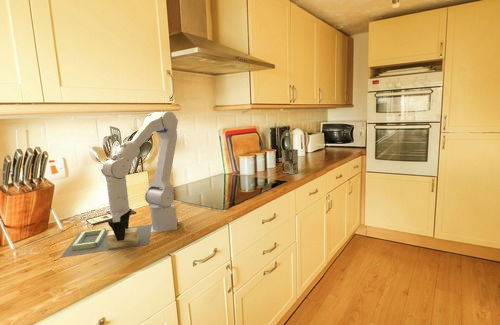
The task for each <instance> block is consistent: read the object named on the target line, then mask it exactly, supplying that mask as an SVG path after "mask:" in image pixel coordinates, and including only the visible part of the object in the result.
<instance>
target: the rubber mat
mask: <svg viewBox="0 0 500 325" xmlns="http://www.w3.org/2000/svg"><path fill="white" fill-rule="evenodd" d="M136 227H138V236H139V241H138V245H131V246H123V247H116V248H109V249H108V242H107V234H108V232H109V231H113V230H112V229H106V234H105V235H104V237H103V239H102V241H101V242H100V244H99V246H98V247H93V248H86V249H79V250H72V245H73V244H74V242H75V241H76V240H77V239H78V237H79V236H80V235H81V233H78V234H77V235H76V236H75V238H74V239H73V241H72V242H71V243H70V245H69V246H68V247H67V248H66V250H64V252H63V253H62V254H61V256H60V257H59V258H68V257H73V256H79V255H80V256H81V255H87V254H95V253H101V252H102V253H103V252H108V251H116V250H121V249H122V250H123V249H128V248H129V249H130V248H135V247H136V248H137V247H144V246H149V243H150V238H151V234H152V233H151V228H152V224H145V225H144V224H143V225H137V226H128V228H136ZM98 236H99V234H97V235H89V236H85V238H84V239H83V241H82V242H81V243H80V244H82V243H89V242H95V241H96V239H97V237H98Z"/></svg>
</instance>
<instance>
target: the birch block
mask: <svg viewBox="0 0 500 325" xmlns="http://www.w3.org/2000/svg"><path fill="white" fill-rule="evenodd" d="M135 227H136V226H135ZM138 241H139V236H138V227H136V228H128V229H125V239H124V240H121V241H117V239H116V237H115V234H114V232H113V231H109V232H108V234H107V242H108V249H109V248H116V247H123V246H131V245H138Z"/></svg>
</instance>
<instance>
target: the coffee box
mask: <svg viewBox="0 0 500 325" xmlns="http://www.w3.org/2000/svg"><path fill="white" fill-rule="evenodd" d="M298 153H299V152H298V149H293V148H285V149H282V150H281V162H282V163H281V165H282V166H281V168H282V169H281V170H282V174H286V173H289V174H288V175H296V174H298V173H299V160H298V159H299V158H298V156H299V155H298ZM295 173H296V174H295Z"/></svg>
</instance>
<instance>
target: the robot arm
mask: <svg viewBox="0 0 500 325" xmlns="http://www.w3.org/2000/svg"><path fill="white" fill-rule="evenodd" d="M178 122H179V119H178V118H177V116H176V114H174V112H172V111H169V110H167V111H161V112H160V111H158V112H155V111H152V112H150V113H148V115H147V116H146V117H145V118H144V122H143V124H141V126H140V128H139V129H138V130H137V132H136V133H135V135H134V136H133V137H132V139H131V140H130V141H128V140H127V141H125V142H122V143H121V144H120V145H119V146H120V148H119V149H118V150H117V151H116V152H115V153H114V154H112V155H111V158H109V159H108V160H106V161H105V162H103V165H102V168H101V169H100V171H101V174H102V175H103V176H104V177H105V181H106V187H107V196H108V204H109V205H108V206H109V209H106V211H105V212H106V213H105V214H108V213H110V214H111V215H112V220H109V221H108V222H107V224H108V226H109V227H110V228H111V230H113V232H114V234H115V237H116V239H117V241H121V240H124V239H125V229H128V227H130V226H129V224H130V217H131V215H130V213H131V211H132V210H133V209H132V208H130V204H129V203H130V202H129V195H128V187H127V177H126V176H127V175H128V174H129V171H130V166H131V164H132V163H133V162H134V160H135V159H136V158H137V157H138V155H139V154H140V153H141V152H140V151H141V150H140V147H141V146H142V145H143V144H144V143H145V142H146V140H147V139H149V137H151V135H152V134H153V133H154V132H155V133H156V134H157V136H159V137H160V138H161V141H160V146H159V147H160V148H159V152H158V159H157V163H156V168H155V174H154V179H153V180H152V181H150V183H149V184H148V187H147V190H146V192H145V194H144V200H145V202H146V203H148V206H149V207H150V208H149V209H150V218H151V225H152V228H151V234H153V233H160V232H167V231H175V230H178V223H179V221H178V220H179V219H178V217H177V216H178V215H177V208H176V207H177V206H176V204H173V202H174V198H175V195H174V188H175V187H174V186H173V185H172V183H171V182H170V180H171V176H172V175H171V173H172V169H173V163H174V158H175V151H176V146H177V141H178V131H177V129H178V124H179V123H178Z"/></svg>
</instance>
